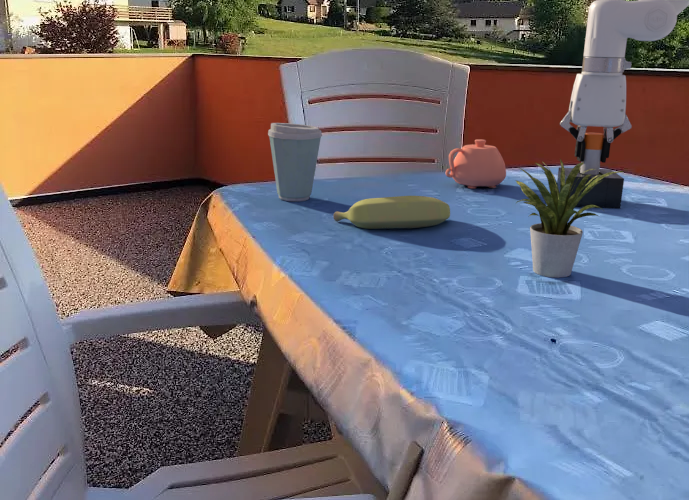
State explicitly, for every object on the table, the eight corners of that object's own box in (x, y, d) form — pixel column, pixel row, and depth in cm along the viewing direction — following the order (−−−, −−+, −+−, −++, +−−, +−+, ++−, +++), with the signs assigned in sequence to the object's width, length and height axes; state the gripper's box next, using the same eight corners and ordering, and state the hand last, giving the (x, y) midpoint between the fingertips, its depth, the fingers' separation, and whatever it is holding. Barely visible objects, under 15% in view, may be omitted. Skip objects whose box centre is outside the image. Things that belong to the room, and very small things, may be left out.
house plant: (597, 258, 107) (610, 150, 102) (626, 288, 93) (643, 166, 89) (501, 254, 107) (510, 147, 103) (517, 284, 94) (528, 163, 90)
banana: (443, 191, 116) (325, 199, 120) (445, 225, 116) (326, 231, 120) (450, 196, 129) (343, 203, 133) (451, 227, 129) (344, 232, 133)
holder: (607, 197, 149) (610, 169, 148) (620, 208, 139) (624, 178, 138) (555, 195, 150) (558, 167, 149) (565, 206, 140) (568, 176, 139)
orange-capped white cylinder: (596, 172, 145) (601, 132, 142) (600, 175, 141) (605, 135, 139) (578, 171, 145) (583, 132, 143) (582, 174, 142) (587, 134, 139)
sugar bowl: (515, 189, 156) (519, 142, 153) (456, 192, 152) (459, 144, 149) (489, 179, 167) (493, 135, 164) (434, 181, 163) (436, 136, 160)
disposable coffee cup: (302, 190, 150) (302, 119, 146) (332, 200, 142) (333, 124, 138) (258, 196, 144) (257, 122, 140) (288, 206, 136) (287, 128, 131)
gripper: (641, 67, 140) (628, 159, 145) (555, 65, 142) (545, 156, 147) (652, 69, 133) (639, 166, 138) (562, 66, 134) (551, 162, 140)
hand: (591, 160), depth 142 cm, fingers closed on orange-capped white cylinder, 3 cm apart
